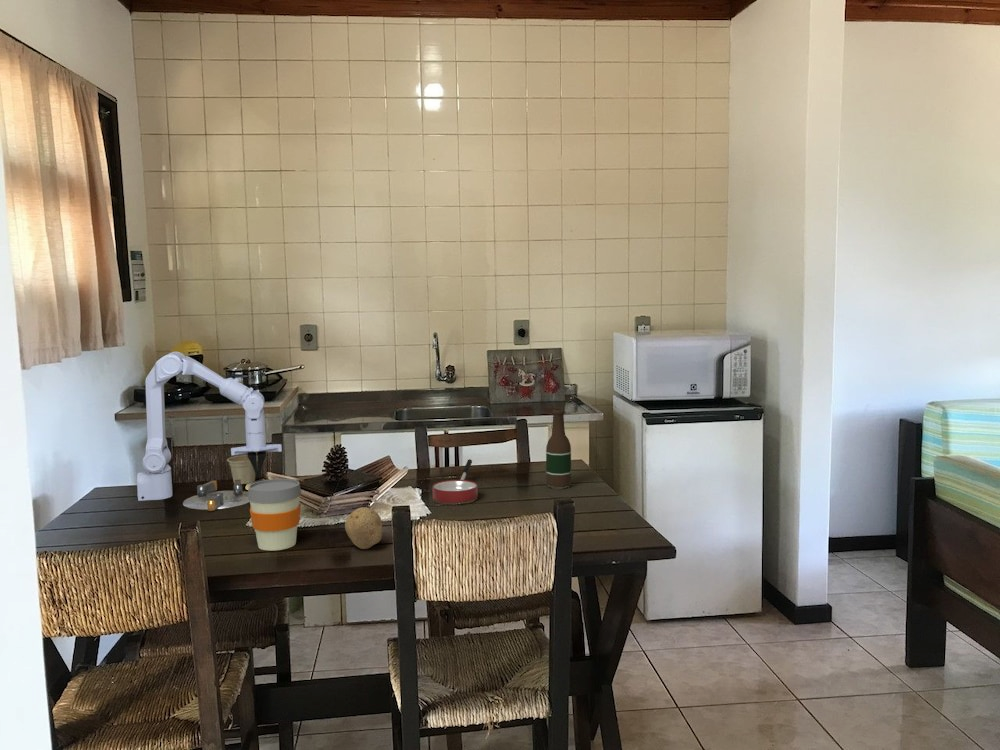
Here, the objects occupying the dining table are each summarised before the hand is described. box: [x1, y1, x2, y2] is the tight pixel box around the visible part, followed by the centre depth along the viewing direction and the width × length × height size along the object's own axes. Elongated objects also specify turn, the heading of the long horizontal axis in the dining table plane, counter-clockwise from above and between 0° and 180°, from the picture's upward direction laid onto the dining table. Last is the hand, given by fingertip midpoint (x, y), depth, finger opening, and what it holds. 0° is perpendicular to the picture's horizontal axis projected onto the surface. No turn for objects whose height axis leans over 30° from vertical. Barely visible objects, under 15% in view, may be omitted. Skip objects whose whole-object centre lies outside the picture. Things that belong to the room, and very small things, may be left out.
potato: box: [344, 506, 383, 550], centre depth 200 cm, size 9×9×10 cm
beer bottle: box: [545, 408, 572, 487], centre depth 254 cm, size 8×8×24 cm
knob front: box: [207, 492, 224, 512], centre depth 232 cm, size 8×2×3 cm, turn 0°
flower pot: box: [226, 454, 258, 485], centre depth 262 cm, size 9×9×9 cm
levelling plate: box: [182, 490, 250, 510], centre depth 241 cm, size 20×20×2 cm
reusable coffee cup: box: [247, 478, 302, 552], centre depth 203 cm, size 13×13×15 cm
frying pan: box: [432, 458, 479, 503], centre depth 251 cm, size 32×13×6 cm, turn 178°
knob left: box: [196, 480, 218, 497], centre depth 247 cm, size 8×2×3 cm, turn 168°
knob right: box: [233, 479, 243, 495], centre depth 248 cm, size 8×2×3 cm, turn 18°
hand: (258, 476), depth 251 cm, fingers closed
